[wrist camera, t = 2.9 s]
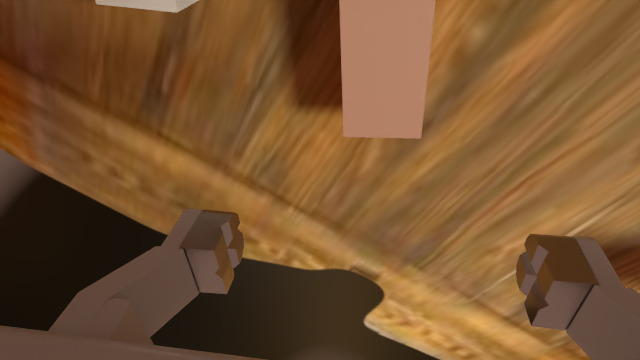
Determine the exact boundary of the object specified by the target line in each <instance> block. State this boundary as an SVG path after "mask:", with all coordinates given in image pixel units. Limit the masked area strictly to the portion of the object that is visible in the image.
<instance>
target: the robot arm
mask: <svg viewBox="0 0 640 360" xmlns="http://www.w3.org/2000/svg"><path fill="white" fill-rule="evenodd" d="M239 224H240V221H239V217H238V214H236V213H234V212H223V211H213V210H199V209H189V208H188V209H187V210H185V211H184V212H183V214H182V215H181V217H180V218H179V220H178V221H177V223H176V224H175V226H174V227H173V229H172V230H171V232H170V233H169V235H168V236H167V238H166V240H165V241H164V243H163V244H162V246H161V247H154V248H153V249H151V250H149V251H148V252H146V253H144V254H143V255H141V256H139V257H138V258H136V259H134V260H133V261H131V262H129V263H127V264H126V265H124V266H122V267H121V268H119V269H117V270H116V271H114V272H112V273H110V274H109V275H107V276H105V277H104V278H102V279H100V280H99V281H97V282H96V283H94V284H92V285H90V286H89V287H87V288H85V289H84V290H82V291H80V292H78V294H77V295H76V296H75V298H74V299H73V300H72V302H71V303H70V304H69V305H68V306H67V308H66V309H65V310H64V312H63V313H62V314H61V315H60V317H59V318H58V319H57V321H56V322H55V323H54V324H53V326H52V327H51V328H50V330H49V331H48V332H46V331H38V330H30V329H22V328H14V327H6V326H0V360H264V359H256V358H248V357H240V356H232V355H225V354H217V353H209V352H201V351H194V350H186V349H178V348H170V347H162V346H155V345H153V343H152V342H151V339H150V337H151V336H152V335H153V334H154V333H155V332H156V331H157V330H159V328H161V327H162V326H163V325H164V324H165V323H166V322H167V321H169V319H171V318H172V317H173V316H174V315H175V314H176V313H178V312H179V311H180V310H181V309H182V308H183V307H184V306H186V305H187V304H188V303H189V302H190V301H191V300H192V299H193V298H194V297H196V296H197V295H198V294H199V292H207V293H220V294H227V292H228V289H229V287H230V285H231V282H232V280H233V278H234V273H233V268H234V267H235V266H237V265H238V264H239V263H240V260H241V258H242V254H243V249H244V239H243V234H242V233H241V232H240V231H239V230H238V229H237V228H238V226H239ZM524 245H525V248H526V250H527V251H526V252H525V253H523V254H522V255H520V257H519V259H518V262H517V269H516V277H517V283H518V286H519V290H520V291H521V292H523V293H524V294H525V295H526V296H527V298H526V301H525V303H524V305H525V308H526V311H527V315H528V318H529V321H530V324H531V326H536V327H544V328H552V329H560V330H567V331H566V332H567V333H568V334H569V336H570V337H571V338H572V339H573V340H574V341H575V342H576V343H577V344H578V345H579V346H580V347H581V348H582V349H583V351H584V352H585V353H586V354H587V355H588V356H589V357H590V358H591V359H592V360H640V294H639V293H637V292H636V291H634V290H633V289H631V288H625V287H624V285H623V284H622V282H621V280H620V279H619V277H618V275H617V273H616V272H615V270H614V268H613V267H612V265H611V263H610V262H609V260H608V258H607V257H606V255H605V253H604V252H603V250H602V248H601V247H600V245H599V243H598V242H597V240H595V239H594V238H589V237H569V236H554V235H539V234H530V235H529V236H528V237H527V239H526V241H525V244H524Z"/></svg>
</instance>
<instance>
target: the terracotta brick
mask: <svg viewBox="0 0 640 360" xmlns="http://www.w3.org/2000/svg"><path fill="white" fill-rule="evenodd" d="M435 2H436V0H339V5H340V37H341V70H342V102H343V135H344V137H375V138H421V134H422V124H423V115H424V105H425V96H426V87H427V77H428V68H429V58H430V49H431V40H432V30H433V21H434V11H435Z"/></svg>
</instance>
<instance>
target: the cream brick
mask: <svg viewBox="0 0 640 360" xmlns="http://www.w3.org/2000/svg"><path fill="white" fill-rule="evenodd" d="M95 1H96V4H101V5H110V6H120V7H129V8H139V9H148V10H158V11H167V12H179V11H181V10H183V9H184V8H186V7H188V6H190V5H191V4H193V3H195V2H197V1H198V0H95Z"/></svg>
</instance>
